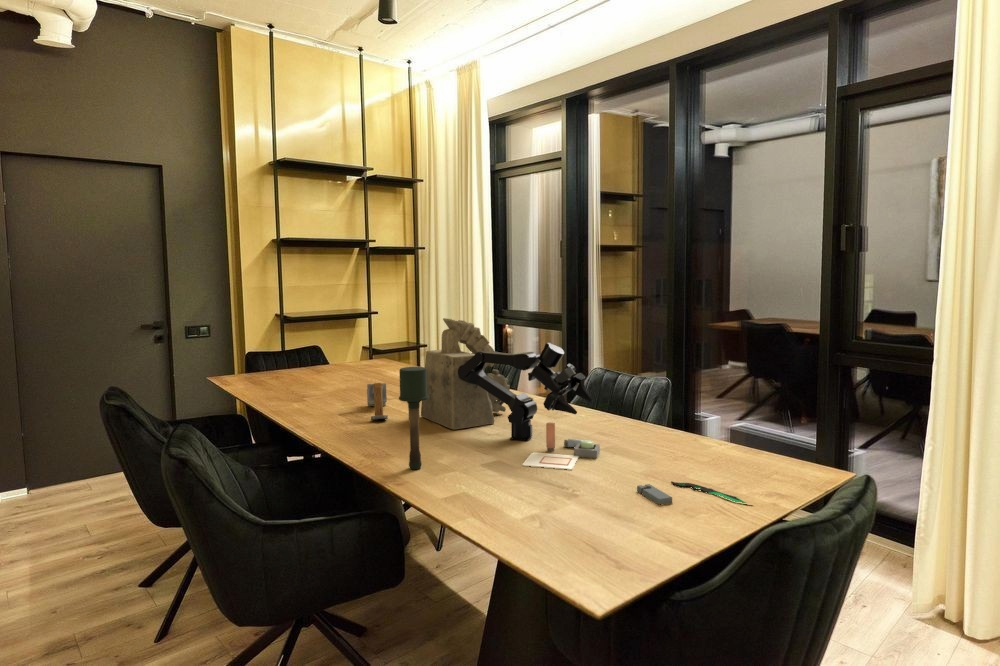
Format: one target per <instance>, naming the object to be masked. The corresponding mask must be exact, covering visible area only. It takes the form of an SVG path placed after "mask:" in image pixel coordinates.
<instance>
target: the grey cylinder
mask: <svg viewBox="0 0 1000 666" xmlns="http://www.w3.org/2000/svg"><path fill="white" fill-rule="evenodd" d="M584 440H585V439H576V438H575V439H574V438H568V439H564V441H563V446H564V447H567V446H568V447H567V448H569V447H576V445H577V444H578V443H581V441H584ZM588 440H589V439H588ZM589 441H592V440H591V439H590V440H589Z"/></svg>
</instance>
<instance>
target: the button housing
mask: <svg viewBox="0 0 1000 666" xmlns="http://www.w3.org/2000/svg"><path fill="white" fill-rule="evenodd" d="M573 449H574V453H573V454H574V456H579V458H584V457H588V459H596V458H597V459H598V457H599V455H600V453H601V444H599V443H598V444H597V443H596V444H595V443H594V449H581V443H578V444H577V445H576V447H575V448H573ZM599 452H600V453H599ZM598 454H599V455H598Z"/></svg>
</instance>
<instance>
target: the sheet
mask: <svg viewBox="0 0 1000 666" xmlns="http://www.w3.org/2000/svg"><path fill="white" fill-rule="evenodd" d="M579 458H580V457H579V456H574V455H573V454H562V453H561V454H558V453H545V452H531V453H530V455H528V457H527V458H526V459H525V461H524V462H523V463H522V464H521V465H522V467H529V466H531V468H532V467H533V468H541V467H544V469H545V468H546V469H553V468H555V470H564V469H567V470H566V471H568V470H569V471H573V469H574V467H575V465H576V464H577V462H576V461H578V460H579ZM575 463H576V464H575Z"/></svg>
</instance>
